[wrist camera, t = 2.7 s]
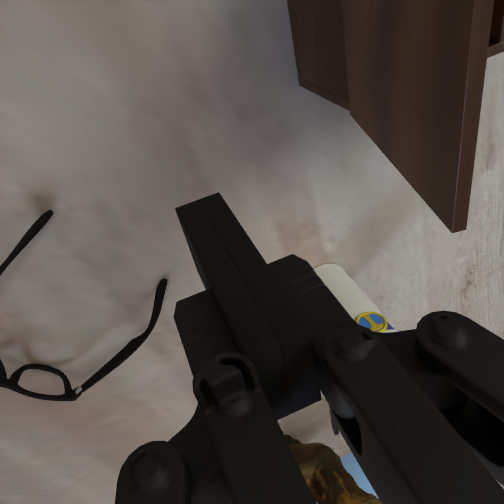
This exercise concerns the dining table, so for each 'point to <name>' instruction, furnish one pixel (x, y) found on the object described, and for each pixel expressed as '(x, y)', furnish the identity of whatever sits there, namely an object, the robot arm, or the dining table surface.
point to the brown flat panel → (421, 90)
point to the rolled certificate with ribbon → (353, 298)
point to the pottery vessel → (327, 475)
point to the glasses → (69, 394)
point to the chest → (343, 45)
